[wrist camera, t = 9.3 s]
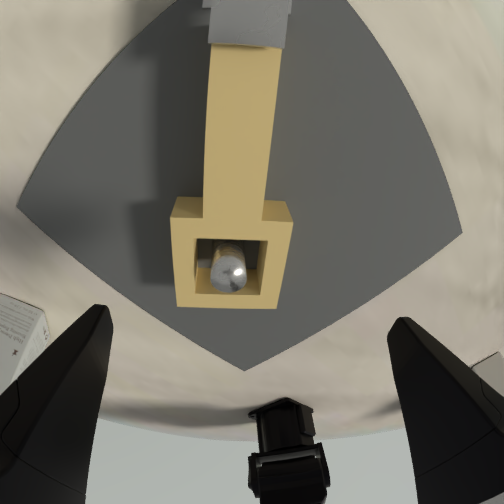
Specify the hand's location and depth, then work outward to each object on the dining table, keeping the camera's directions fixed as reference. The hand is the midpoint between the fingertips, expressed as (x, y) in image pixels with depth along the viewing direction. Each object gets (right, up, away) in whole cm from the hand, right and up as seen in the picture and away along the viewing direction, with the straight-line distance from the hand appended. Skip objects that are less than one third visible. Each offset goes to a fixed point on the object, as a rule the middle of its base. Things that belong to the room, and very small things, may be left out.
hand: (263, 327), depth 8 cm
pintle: (-2, +3, +11) cm, 11 cm away
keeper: (0, +15, +2) cm, 15 cm away
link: (-1, +7, +8) cm, 11 cm away
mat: (0, +5, +10) cm, 11 cm away
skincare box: (-23, -4, +14) cm, 27 cm away
